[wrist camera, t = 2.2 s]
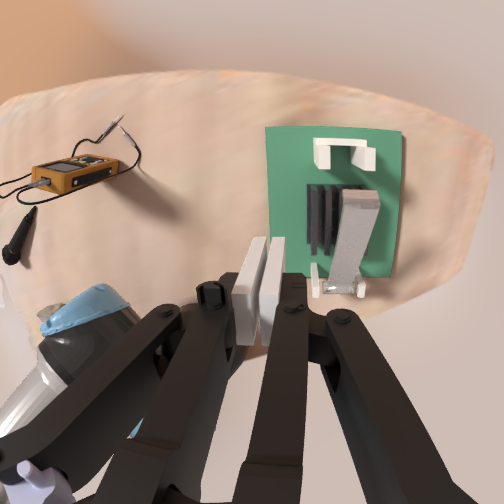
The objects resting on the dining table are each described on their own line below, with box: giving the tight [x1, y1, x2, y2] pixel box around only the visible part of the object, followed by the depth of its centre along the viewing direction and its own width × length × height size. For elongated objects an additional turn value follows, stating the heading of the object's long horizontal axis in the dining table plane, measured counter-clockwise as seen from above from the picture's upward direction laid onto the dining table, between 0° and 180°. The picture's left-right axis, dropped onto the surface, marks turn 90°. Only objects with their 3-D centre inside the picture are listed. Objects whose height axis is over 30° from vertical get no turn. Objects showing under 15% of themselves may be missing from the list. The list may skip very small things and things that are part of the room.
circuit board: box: [265, 126, 402, 298], centre depth 34 cm, size 21×18×9 cm
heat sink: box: [306, 184, 369, 256], centre depth 35 cm, size 8×8×5 cm
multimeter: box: [0, 114, 140, 205], centre depth 29 cm, size 15×10×20 cm
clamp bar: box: [322, 189, 381, 294], centre depth 29 cm, size 17×4×2 cm
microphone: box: [2, 206, 36, 265], centre depth 47 cm, size 5×5×19 cm
